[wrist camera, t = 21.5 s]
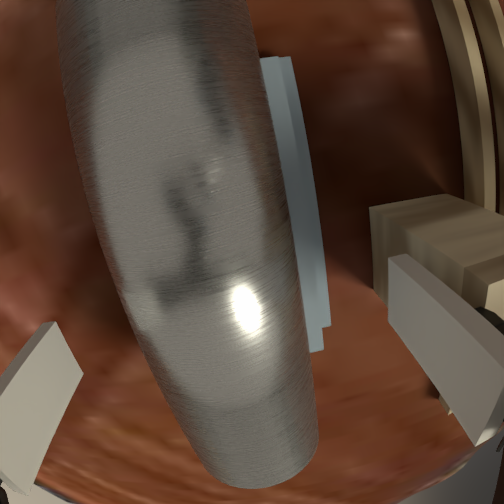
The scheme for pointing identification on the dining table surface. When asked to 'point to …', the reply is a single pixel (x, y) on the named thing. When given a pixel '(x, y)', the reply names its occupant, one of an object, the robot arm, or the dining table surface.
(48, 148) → the dining table surface
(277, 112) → the v block
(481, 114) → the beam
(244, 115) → the axle
